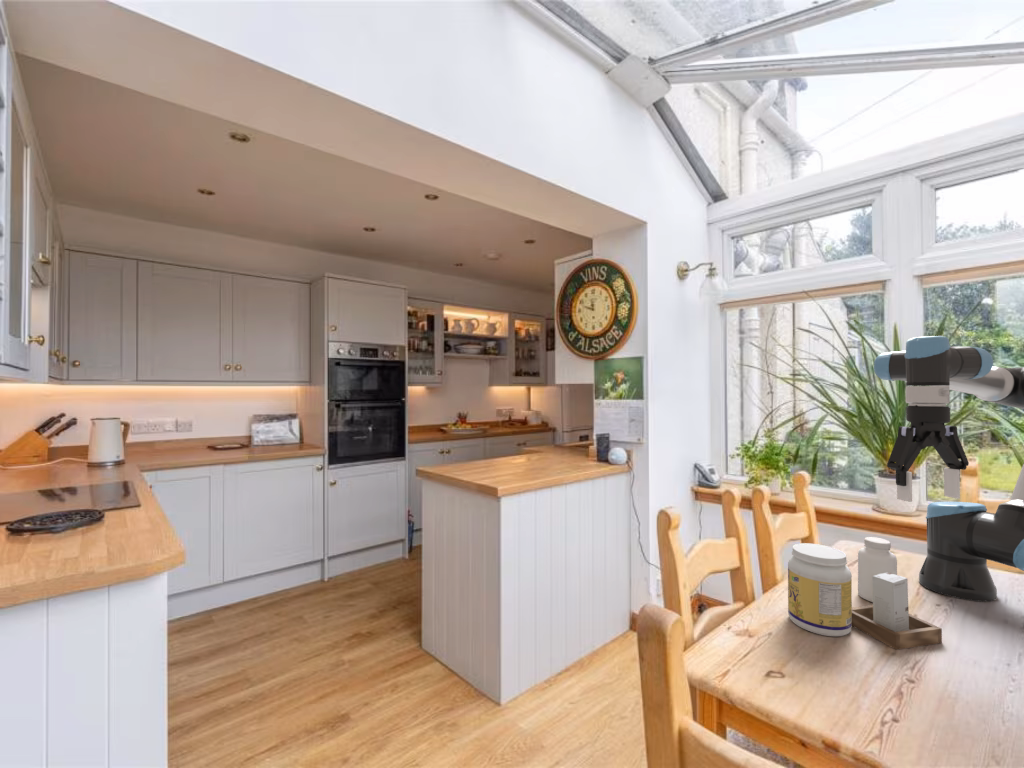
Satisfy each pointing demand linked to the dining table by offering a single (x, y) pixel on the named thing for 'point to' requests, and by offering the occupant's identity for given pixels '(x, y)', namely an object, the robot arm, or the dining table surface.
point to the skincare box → (890, 601)
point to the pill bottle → (874, 564)
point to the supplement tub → (820, 589)
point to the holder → (914, 637)
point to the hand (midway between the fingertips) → (928, 498)
